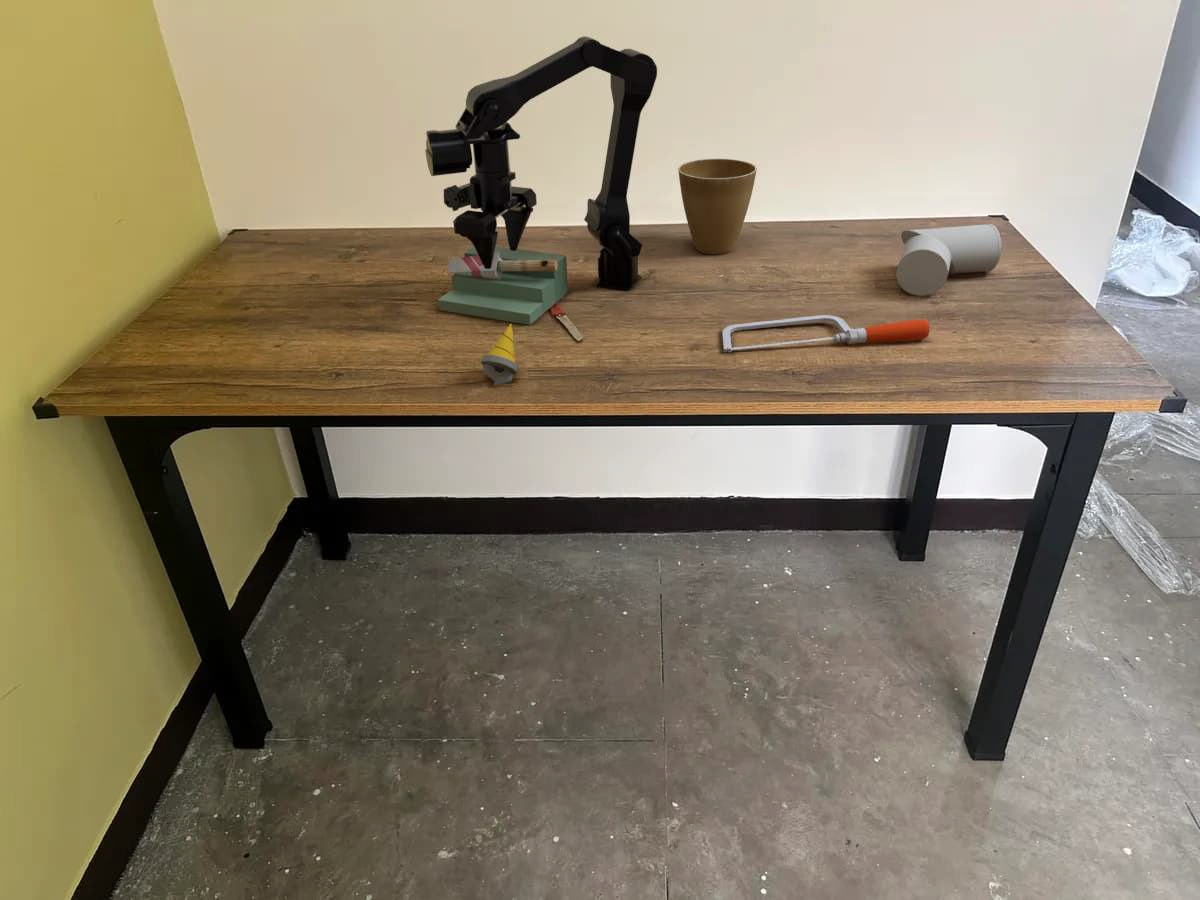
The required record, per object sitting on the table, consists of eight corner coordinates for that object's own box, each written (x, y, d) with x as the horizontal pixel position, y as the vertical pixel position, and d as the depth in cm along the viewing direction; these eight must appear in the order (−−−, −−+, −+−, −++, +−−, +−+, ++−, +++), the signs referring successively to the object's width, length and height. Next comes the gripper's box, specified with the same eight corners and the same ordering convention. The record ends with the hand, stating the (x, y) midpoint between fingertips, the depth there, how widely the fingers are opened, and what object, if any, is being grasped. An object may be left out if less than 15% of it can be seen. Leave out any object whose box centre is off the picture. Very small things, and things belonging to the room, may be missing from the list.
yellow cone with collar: (473, 383, 134) (490, 322, 136) (506, 394, 135) (523, 333, 137) (480, 376, 129) (498, 313, 131) (514, 387, 130) (532, 324, 132)
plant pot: (765, 245, 179) (771, 164, 170) (723, 267, 169) (728, 183, 161) (704, 230, 187) (707, 153, 178) (661, 250, 178) (662, 170, 169)
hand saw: (725, 345, 137) (712, 319, 145) (725, 363, 138) (712, 337, 147) (932, 323, 138) (907, 299, 147) (929, 341, 140) (905, 316, 148)
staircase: (568, 292, 161) (566, 255, 157) (530, 325, 150) (527, 286, 146) (481, 279, 167) (478, 243, 164) (439, 310, 156) (434, 272, 152)
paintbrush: (447, 251, 157) (556, 252, 152) (453, 261, 159) (559, 261, 154) (443, 270, 155) (552, 270, 150) (448, 279, 158) (556, 280, 153)
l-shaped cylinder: (895, 246, 172) (881, 284, 157) (916, 194, 166) (904, 228, 151) (986, 276, 169) (981, 317, 153) (1011, 224, 162) (1009, 262, 147)
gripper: (478, 150, 156) (486, 237, 164) (419, 179, 142) (432, 272, 150) (535, 155, 152) (540, 243, 160) (480, 185, 138) (489, 280, 146)
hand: (500, 259), depth 154 cm, fingers open, 9 cm apart
